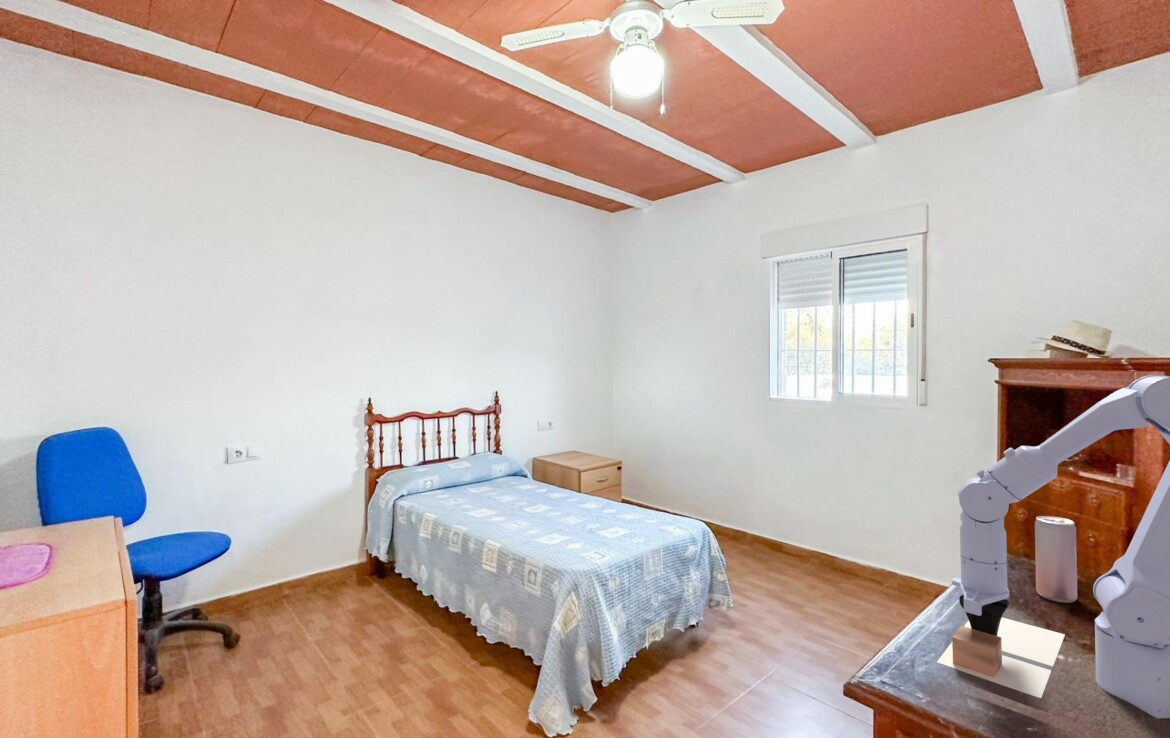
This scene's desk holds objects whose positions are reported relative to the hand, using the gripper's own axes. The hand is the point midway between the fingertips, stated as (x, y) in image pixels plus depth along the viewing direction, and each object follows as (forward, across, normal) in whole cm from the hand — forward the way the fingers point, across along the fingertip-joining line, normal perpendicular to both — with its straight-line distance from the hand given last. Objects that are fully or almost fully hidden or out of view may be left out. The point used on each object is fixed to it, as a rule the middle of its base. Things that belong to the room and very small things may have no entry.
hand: (984, 645), depth 81 cm
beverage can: (+3, -36, +4) cm, 37 cm away
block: (+1, +4, 0) cm, 4 cm away
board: (+2, -4, +2) cm, 5 cm away
